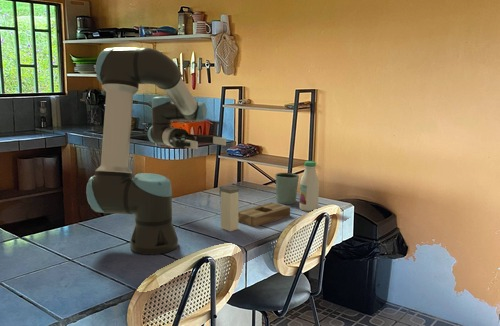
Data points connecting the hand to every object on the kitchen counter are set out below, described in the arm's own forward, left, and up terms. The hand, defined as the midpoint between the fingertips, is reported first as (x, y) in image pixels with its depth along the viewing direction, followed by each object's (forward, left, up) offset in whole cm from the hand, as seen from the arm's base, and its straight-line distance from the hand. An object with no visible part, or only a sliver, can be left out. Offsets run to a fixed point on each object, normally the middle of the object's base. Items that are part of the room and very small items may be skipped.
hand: (211, 143), depth 178 cm
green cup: (+21, +38, -30) cm, 53 cm away
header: (+17, +11, -30) cm, 36 cm away
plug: (+8, -5, -30) cm, 32 cm away
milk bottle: (+32, +29, -30) cm, 53 cm away
